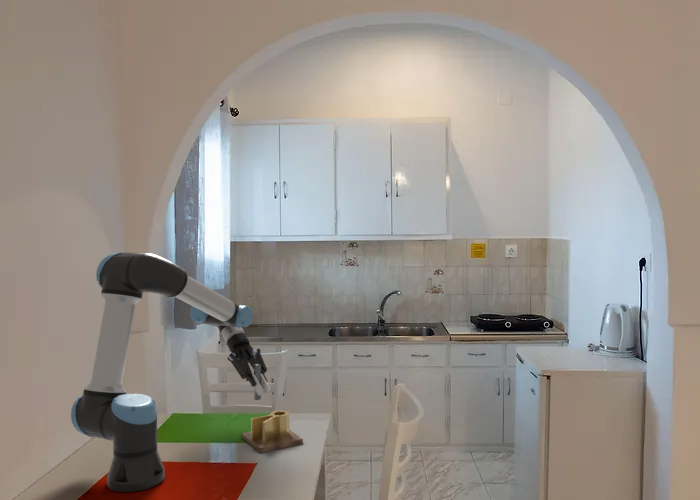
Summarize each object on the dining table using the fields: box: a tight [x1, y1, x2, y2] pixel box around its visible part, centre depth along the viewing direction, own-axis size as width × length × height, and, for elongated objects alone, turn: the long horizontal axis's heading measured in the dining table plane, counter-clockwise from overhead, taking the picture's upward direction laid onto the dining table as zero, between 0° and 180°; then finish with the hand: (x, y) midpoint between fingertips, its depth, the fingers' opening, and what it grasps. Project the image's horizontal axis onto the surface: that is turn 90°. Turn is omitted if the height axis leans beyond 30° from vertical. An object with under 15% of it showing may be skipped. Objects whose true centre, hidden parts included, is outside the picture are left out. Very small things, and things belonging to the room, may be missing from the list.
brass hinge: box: [250, 410, 290, 444], centre depth 196 cm, size 13×9×7 cm
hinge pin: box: [253, 364, 262, 401], centre depth 208 cm, size 2×2×12 cm
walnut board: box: [240, 429, 304, 454], centre depth 198 cm, size 15×16×2 cm
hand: (264, 392), depth 206 cm, fingers closed on hinge pin, 2 cm apart
